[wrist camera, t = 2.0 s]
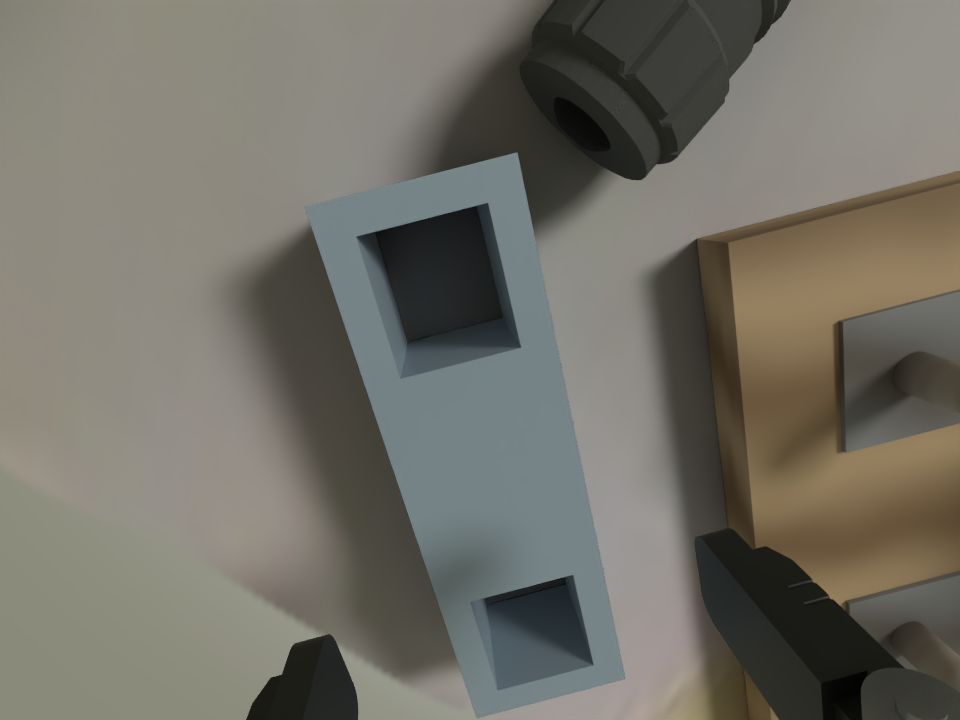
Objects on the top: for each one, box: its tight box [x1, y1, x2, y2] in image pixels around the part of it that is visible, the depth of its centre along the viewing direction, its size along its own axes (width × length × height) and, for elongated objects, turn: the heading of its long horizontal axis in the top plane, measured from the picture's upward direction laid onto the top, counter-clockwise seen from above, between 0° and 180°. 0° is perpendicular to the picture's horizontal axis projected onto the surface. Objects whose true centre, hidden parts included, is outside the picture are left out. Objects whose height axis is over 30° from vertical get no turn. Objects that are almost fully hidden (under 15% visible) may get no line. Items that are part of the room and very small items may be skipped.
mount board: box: [697, 171, 960, 720], centre depth 18 cm, size 24×12×7 cm, turn 14°
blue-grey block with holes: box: [305, 152, 625, 718], centre depth 17 cm, size 18×6×4 cm, turn 14°
